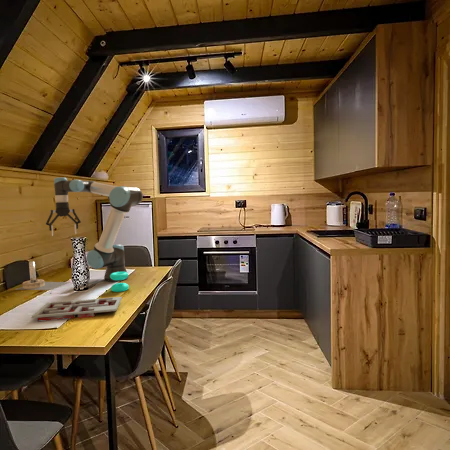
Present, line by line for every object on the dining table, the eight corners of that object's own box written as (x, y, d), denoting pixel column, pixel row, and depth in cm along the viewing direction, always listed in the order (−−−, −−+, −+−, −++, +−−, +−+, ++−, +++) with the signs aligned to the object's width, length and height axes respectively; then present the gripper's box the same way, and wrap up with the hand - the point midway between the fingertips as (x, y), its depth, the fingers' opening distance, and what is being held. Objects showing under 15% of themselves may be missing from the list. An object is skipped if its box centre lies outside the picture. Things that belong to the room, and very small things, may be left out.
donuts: (115, 271, 200) (131, 271, 198) (116, 287, 201) (132, 288, 199) (106, 274, 190) (122, 275, 188) (107, 292, 191) (123, 292, 189)
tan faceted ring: (48, 284, 209) (48, 279, 209) (35, 288, 199) (35, 283, 198) (32, 284, 211) (32, 279, 211) (19, 288, 201) (18, 283, 200)
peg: (37, 285, 206) (35, 261, 205) (34, 287, 203) (32, 262, 202) (33, 285, 207) (31, 261, 206) (29, 287, 204) (27, 262, 203)
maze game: (32, 323, 146) (31, 316, 146) (47, 309, 165) (47, 302, 165) (116, 316, 152) (115, 309, 152) (122, 302, 171) (121, 296, 171)
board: (70, 284, 213) (70, 282, 213) (51, 292, 195) (51, 289, 195) (37, 284, 217) (36, 281, 217) (15, 291, 200) (14, 289, 199)
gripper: (82, 201, 226) (84, 232, 228) (39, 202, 214) (42, 236, 216) (83, 201, 220) (85, 233, 222) (40, 202, 208) (42, 237, 209)
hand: (64, 234), depth 219 cm, fingers open, 13 cm apart
